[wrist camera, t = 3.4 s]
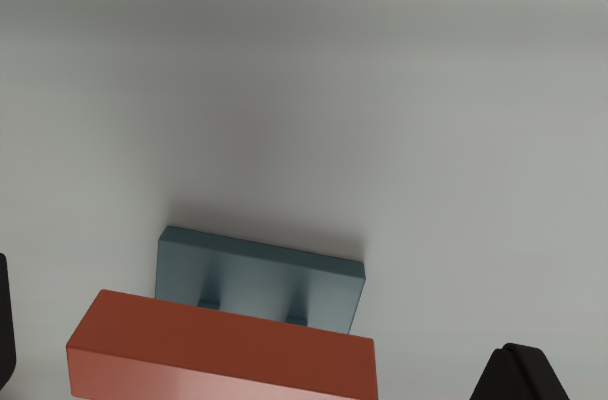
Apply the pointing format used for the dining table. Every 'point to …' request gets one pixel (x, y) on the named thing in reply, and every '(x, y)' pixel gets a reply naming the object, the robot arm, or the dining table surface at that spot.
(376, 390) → the lever
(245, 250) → the bracket
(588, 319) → the dining table surface
